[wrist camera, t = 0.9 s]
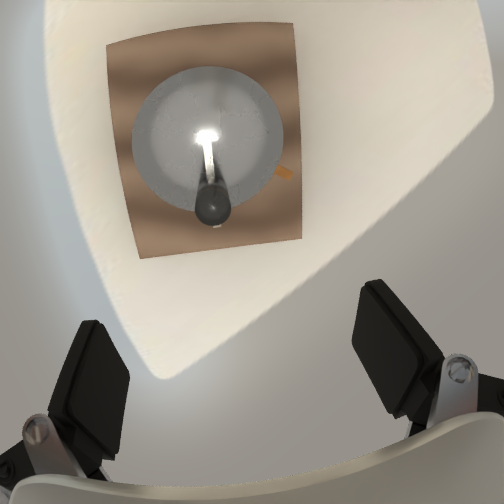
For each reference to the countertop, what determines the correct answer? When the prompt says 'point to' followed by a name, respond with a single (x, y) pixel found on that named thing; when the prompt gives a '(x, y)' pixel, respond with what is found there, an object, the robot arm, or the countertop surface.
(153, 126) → the dial
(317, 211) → the countertop surface
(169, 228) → the dial board
